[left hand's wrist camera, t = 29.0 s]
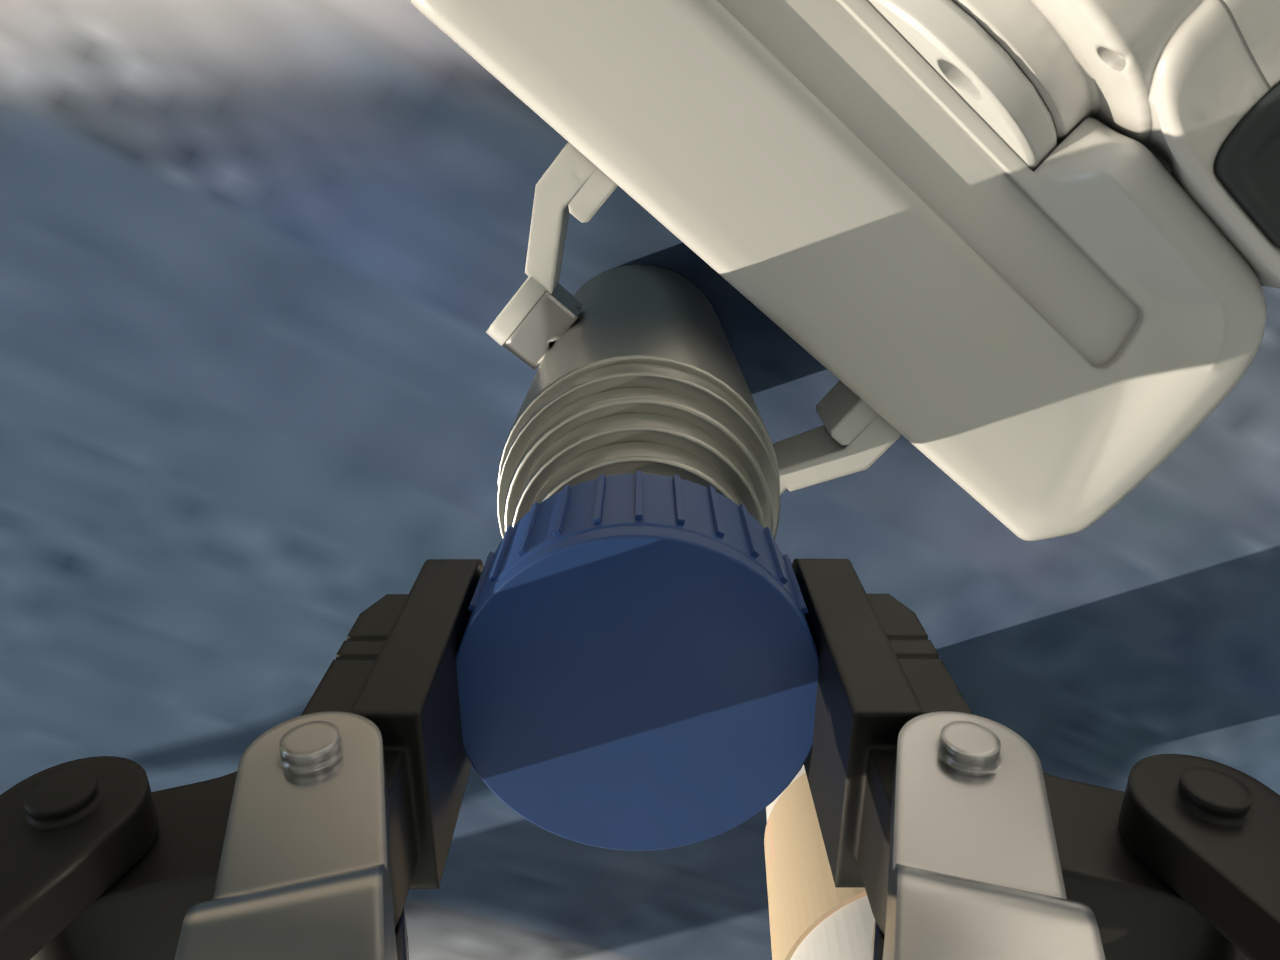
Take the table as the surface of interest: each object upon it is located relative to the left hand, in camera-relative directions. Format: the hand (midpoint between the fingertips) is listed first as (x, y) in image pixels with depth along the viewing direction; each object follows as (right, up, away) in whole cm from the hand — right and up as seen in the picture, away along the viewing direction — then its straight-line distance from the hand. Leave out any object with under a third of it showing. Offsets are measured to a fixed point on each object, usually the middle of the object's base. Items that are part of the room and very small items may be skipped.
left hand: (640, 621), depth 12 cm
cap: (0, -1, -2) cm, 2 cm away
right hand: (0, +3, +10) cm, 11 cm away
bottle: (0, +6, +16) cm, 17 cm away
